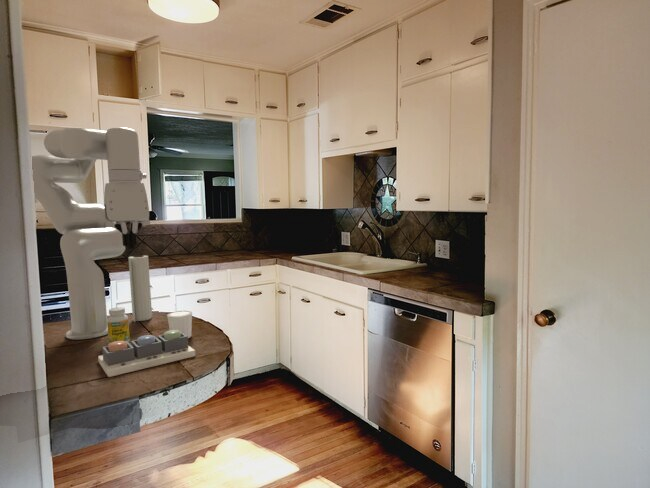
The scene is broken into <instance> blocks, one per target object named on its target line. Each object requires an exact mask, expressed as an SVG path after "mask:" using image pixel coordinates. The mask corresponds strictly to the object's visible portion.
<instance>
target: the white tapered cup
mask: <svg viewBox="0 0 650 488" xmlns="http://www.w3.org/2000/svg"><path fill="white" fill-rule="evenodd" d="M166 317H167V323H168V329H169V330H168V331H170V330H180V331H181V332H182V333H184V334H185V335H187V336H188V339H189V338H191V337H192V324H193V322H192V321H193V312H192V311H190V310H179V311H178V310H177V311H172V312H170V313H168V314H166Z"/></svg>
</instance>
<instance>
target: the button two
mask: <svg viewBox="0 0 650 488" xmlns="http://www.w3.org/2000/svg"><path fill="white" fill-rule="evenodd" d="M155 337H156V336H155V335H153V334H148V335H141V336H139V337H137V339H136V340H137V342H138V346H142V345H146V344H151V343H155Z"/></svg>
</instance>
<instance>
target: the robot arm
mask: <svg viewBox="0 0 650 488" xmlns="http://www.w3.org/2000/svg"><path fill="white" fill-rule="evenodd" d="M43 145H44V148H45V150H46V151H47V152H48V153H49V154H38V155H37V154H36V155H32V170H33V181H34V193H35V197H34V198H35V199H36V200H37V201H38V202H39V203H40V204H41V206H42V207H43V209H44V211H45V213H46V215H47V216H48V217H47V218H49V220H50V222H51V224H52V225H53V227H54V228H55V230H56V231H57V232H58V234H60V235H62V236H61V237H60V242H59V245H60V247H59V248H60V250H61V251H60V252H61V255H62V258H63V262H64V265H65V271H66V272H65V273H66V280H67V289H68V301H69V313H70V323H71V328H70V329H69V330H68V331H66V332H65V337H66V338H67V339H69V340H89V339H95V338H99V337H102V336H106V335H108V325H107V319H108V316H107V315H108V314H107V313H108V312H107V301H106V286H105V279H104V278H105V277H104V272H103V271H102V269H101V267H99V266H98V265H97V263H95V261H96V260H103V259H104V260H105V259H109V258H111V259H112V258H116V257H120V256H121V255H123V254H124V252H125V251H126V250H130V249H132V250H134V249H135V246H136V245H137V233H138V232H139V230H140V229H141V228H142V227H146V226H149V225H151V221H150V208H149V200H148V195H147V191H146V187H145V183H144V182H142V181H143V180H144V179H147V173H143V171H142V170H141V163H140V162H141V161H140V147H139V146H140V145H139V135H138V133H137V131H136V130H134V129H132V128H128V127H110V128H108V129H107V130H101V129H92V128H79V127H78V128H77V127H73V128H72V127H70V128H69V127H66V128H63V129H61V128H59V129H54V130H51V131H50V132H48V133H47V134H46V135H45V137H44V139H43ZM97 160H104V161H107V171H108V172H107V173H108V182H106V183H105V184H104V185H105V186H104V193H103V195H104V196H103V198H104V199H103V200H104V201H103V203H104V205H102V204H99V203H80V202H77V201H75V199H74V197H73V196H72V194H71V193H70V192H69V191H68V190H67V189H65V188H64V187H62V186H61V185H59V184H60V183H61V184H79V183H82V182H84V181H86V180H87V178H88V177H89V174H90V173H91V171H92V169H93V167H94V165H95V163H96V161H97ZM58 183H59V184H58ZM126 222H128V223H129V222H130V223H129V224H130V225H129V226H130V227H129V231H128V227H127V223H126Z"/></svg>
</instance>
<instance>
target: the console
mask: <svg viewBox="0 0 650 488" xmlns="http://www.w3.org/2000/svg"><path fill="white" fill-rule="evenodd" d="M101 350H102V355H98V356H97V360H98V363H99V365H100V367H101V368H102V370H103V371H104V372H105V374H106V375H107V377H108V378H110V377H114V376H119V375H123V374H126V373H127V374H128V373H130V372H131V373H132V372H135V371H139V370H143V369H147V368H152V367H156V366H160V365H164V364H167V363H169V364H170V363H172V362H177V361H180V360H184V359H188V358H189V359H190V358H193V357H196V349H194V348H192V347H191V346H190V345H189V338H188V336H187V335H185V334H184V333H182V332H181V337H179V338H175V339H170V340H165V339H164V334H160V335H157V337H156V336H155V343H151V344H146V345H142V346H138V342H137V339H134V340H130V341H129V342H127V349H123V350H118V351H113V352H109V347H108V345H106V346H102V348H101Z"/></svg>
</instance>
